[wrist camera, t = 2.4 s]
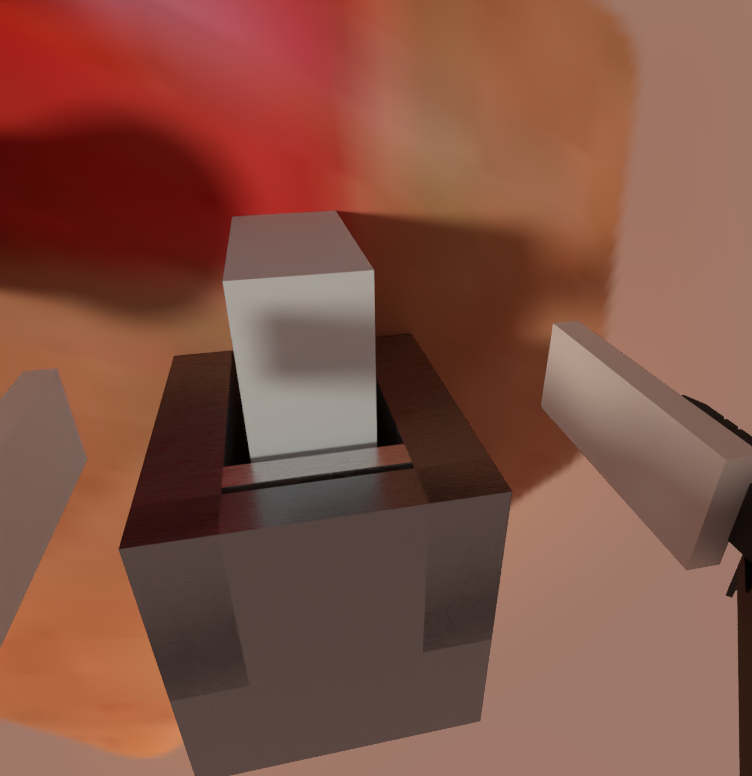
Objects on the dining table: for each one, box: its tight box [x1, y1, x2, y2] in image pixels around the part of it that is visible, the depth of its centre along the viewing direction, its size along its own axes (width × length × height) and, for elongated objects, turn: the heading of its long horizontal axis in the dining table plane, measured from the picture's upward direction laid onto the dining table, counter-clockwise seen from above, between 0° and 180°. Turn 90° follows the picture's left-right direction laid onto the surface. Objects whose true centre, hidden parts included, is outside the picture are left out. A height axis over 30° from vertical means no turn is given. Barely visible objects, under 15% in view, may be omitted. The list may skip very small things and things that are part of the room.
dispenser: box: [119, 334, 512, 776], centre depth 27 cm, size 14×13×14 cm
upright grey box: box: [223, 211, 377, 463], centre depth 25 cm, size 10×5×10 cm, turn 1°
